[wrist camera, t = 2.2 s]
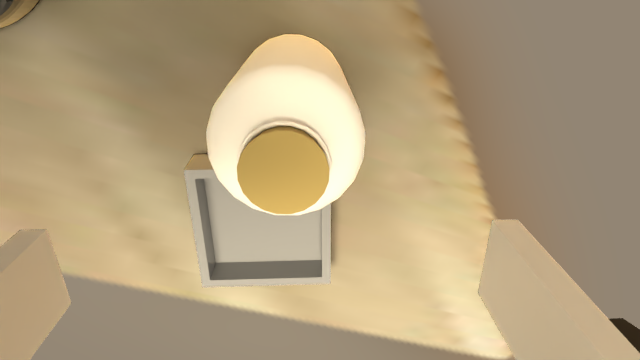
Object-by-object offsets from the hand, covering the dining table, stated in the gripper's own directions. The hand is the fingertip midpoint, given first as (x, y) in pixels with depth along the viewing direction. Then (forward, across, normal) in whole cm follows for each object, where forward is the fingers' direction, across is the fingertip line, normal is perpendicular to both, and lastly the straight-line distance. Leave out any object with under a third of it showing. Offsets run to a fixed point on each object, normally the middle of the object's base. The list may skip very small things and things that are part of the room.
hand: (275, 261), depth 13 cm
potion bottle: (+24, 0, 0) cm, 24 cm away
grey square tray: (+24, -3, -12) cm, 27 cm away
